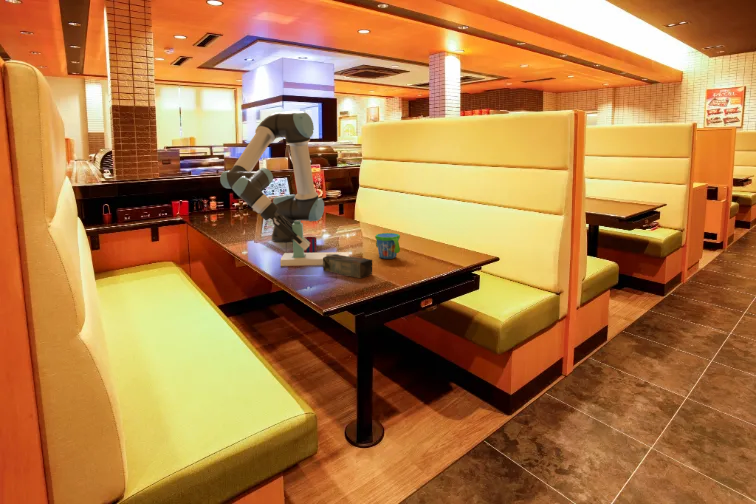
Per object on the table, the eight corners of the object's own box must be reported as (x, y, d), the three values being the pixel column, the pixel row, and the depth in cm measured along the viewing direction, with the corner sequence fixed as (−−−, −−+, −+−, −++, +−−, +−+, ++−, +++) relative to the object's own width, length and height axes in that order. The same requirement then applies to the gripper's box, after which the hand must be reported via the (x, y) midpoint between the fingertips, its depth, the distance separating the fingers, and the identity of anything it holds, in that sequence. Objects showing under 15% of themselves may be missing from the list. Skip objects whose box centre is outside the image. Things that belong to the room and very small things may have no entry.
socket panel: (284, 259, 208) (284, 253, 207) (349, 258, 210) (349, 252, 209) (280, 266, 196) (280, 259, 196) (349, 265, 198) (348, 258, 197)
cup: (317, 253, 220) (316, 239, 218) (294, 254, 218) (294, 239, 217) (316, 250, 226) (316, 236, 224) (295, 251, 225) (294, 236, 223)
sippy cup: (369, 255, 216) (369, 233, 214) (390, 252, 221) (390, 231, 218) (384, 262, 202) (384, 239, 200) (406, 260, 207) (406, 236, 205)
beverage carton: (335, 267, 196) (334, 252, 194) (373, 274, 185) (373, 258, 184) (322, 272, 189) (321, 255, 188) (361, 279, 179) (361, 262, 177)
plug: (294, 257, 204) (293, 220, 200) (304, 257, 204) (302, 220, 200) (293, 260, 200) (292, 221, 196) (303, 259, 200) (301, 221, 197)
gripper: (263, 211, 205) (303, 248, 210) (255, 217, 189) (299, 257, 193) (275, 199, 204) (315, 236, 209) (268, 204, 188) (312, 244, 192)
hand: (307, 246), depth 201 cm, fingers closed on plug, 4 cm apart
